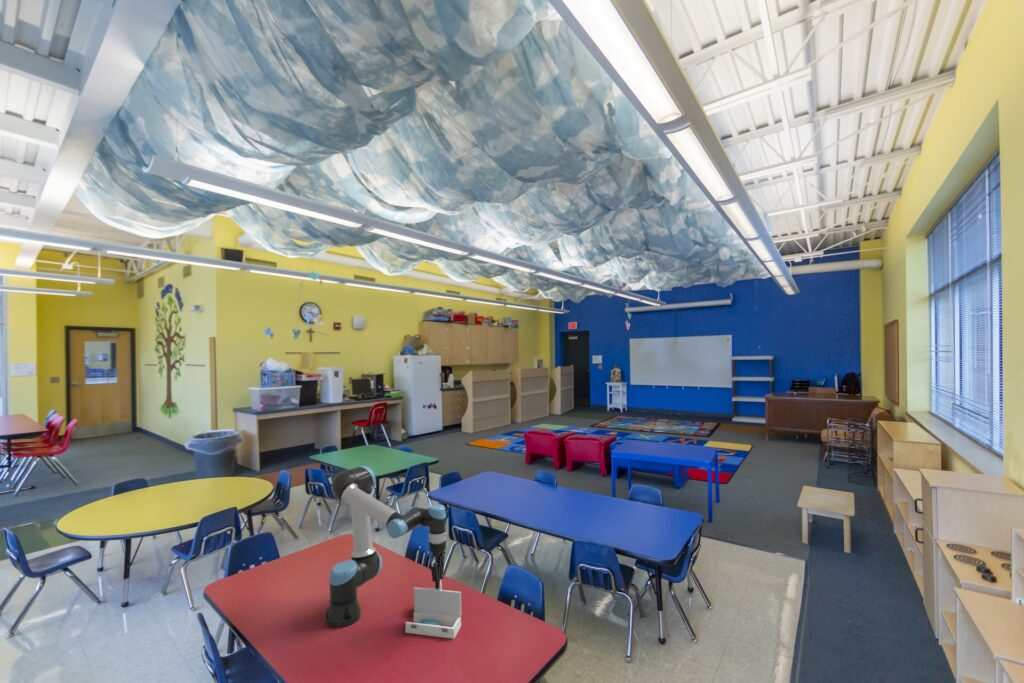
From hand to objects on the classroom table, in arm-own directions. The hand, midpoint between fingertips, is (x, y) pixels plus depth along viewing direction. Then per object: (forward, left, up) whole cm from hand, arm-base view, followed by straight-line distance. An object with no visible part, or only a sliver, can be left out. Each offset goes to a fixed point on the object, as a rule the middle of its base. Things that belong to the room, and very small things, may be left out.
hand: (438, 594), depth 194 cm
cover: (0, -1, -2) cm, 3 cm away
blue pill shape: (-2, -5, -12) cm, 13 cm away
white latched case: (0, -5, -12) cm, 13 cm away
